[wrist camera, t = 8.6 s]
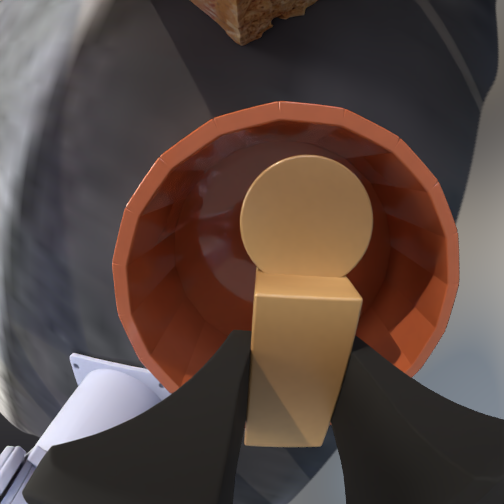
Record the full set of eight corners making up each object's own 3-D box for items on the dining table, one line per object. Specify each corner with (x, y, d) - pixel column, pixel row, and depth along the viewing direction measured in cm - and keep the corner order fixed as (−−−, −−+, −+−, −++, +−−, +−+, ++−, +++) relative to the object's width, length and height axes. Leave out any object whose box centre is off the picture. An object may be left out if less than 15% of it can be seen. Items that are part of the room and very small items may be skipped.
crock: (370, 351, 17) (406, 423, 11) (173, 341, 17) (137, 414, 11) (403, 148, 14) (478, 141, 7) (171, 128, 14) (112, 105, 8)
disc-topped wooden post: (324, 392, 11) (336, 446, 8) (236, 389, 11) (228, 445, 8) (361, 164, 9) (402, 163, 6) (246, 153, 9) (238, 144, 6)
